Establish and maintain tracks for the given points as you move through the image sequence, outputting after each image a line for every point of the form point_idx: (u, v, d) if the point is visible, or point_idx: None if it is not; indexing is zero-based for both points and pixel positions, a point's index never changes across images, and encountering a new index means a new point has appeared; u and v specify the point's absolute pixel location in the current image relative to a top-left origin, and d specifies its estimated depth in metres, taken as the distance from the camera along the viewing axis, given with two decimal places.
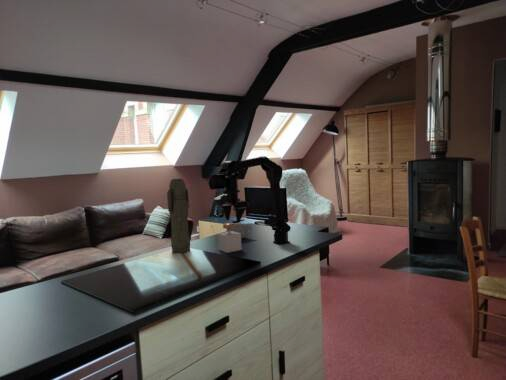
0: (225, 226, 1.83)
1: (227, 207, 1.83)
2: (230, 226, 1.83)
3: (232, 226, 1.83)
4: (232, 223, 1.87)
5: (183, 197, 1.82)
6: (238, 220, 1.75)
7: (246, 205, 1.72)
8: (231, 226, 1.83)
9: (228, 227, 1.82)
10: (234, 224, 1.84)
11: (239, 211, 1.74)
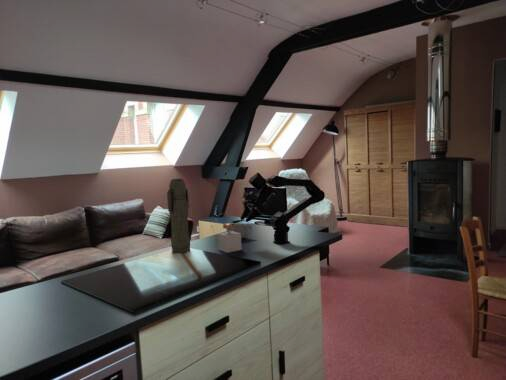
0: (225, 226, 1.83)
1: (248, 210, 1.93)
2: (230, 226, 1.83)
3: (232, 226, 1.83)
4: (232, 223, 1.87)
5: (183, 197, 1.82)
6: (247, 219, 1.84)
7: (264, 212, 1.82)
8: (231, 226, 1.83)
9: (228, 227, 1.82)
10: (234, 224, 1.84)
11: (254, 213, 1.85)
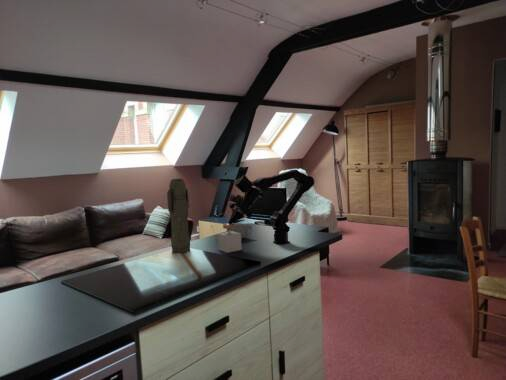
0: (225, 226, 1.83)
1: None
2: (230, 226, 1.83)
3: (232, 226, 1.83)
4: (232, 223, 1.87)
5: (183, 197, 1.82)
6: (230, 221, 1.85)
7: (249, 215, 1.79)
8: (231, 226, 1.83)
9: (228, 227, 1.82)
10: (234, 224, 1.85)
11: (237, 215, 1.85)
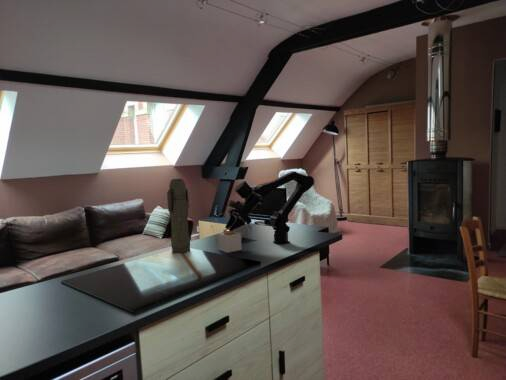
0: (225, 232, 1.83)
1: (234, 219, 1.90)
2: (230, 232, 1.83)
3: (232, 232, 1.83)
4: None
5: (183, 197, 1.82)
6: (231, 228, 1.82)
7: (248, 221, 1.79)
8: (231, 232, 1.83)
9: (228, 233, 1.83)
10: (234, 230, 1.85)
11: (238, 222, 1.83)
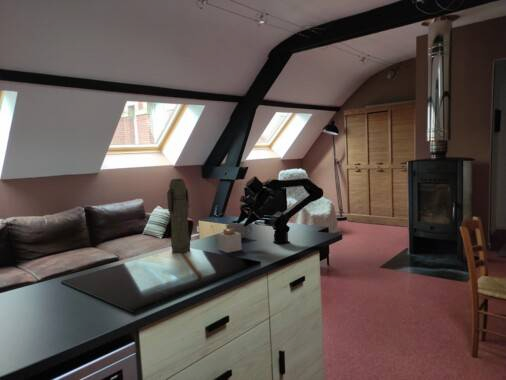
0: (225, 232, 1.83)
1: (245, 214, 1.93)
2: (230, 232, 1.83)
3: (232, 232, 1.83)
4: (232, 229, 1.87)
5: (183, 197, 1.82)
6: (245, 224, 1.83)
7: (261, 216, 1.81)
8: (231, 232, 1.83)
9: (228, 233, 1.83)
10: (234, 230, 1.85)
11: (252, 217, 1.83)
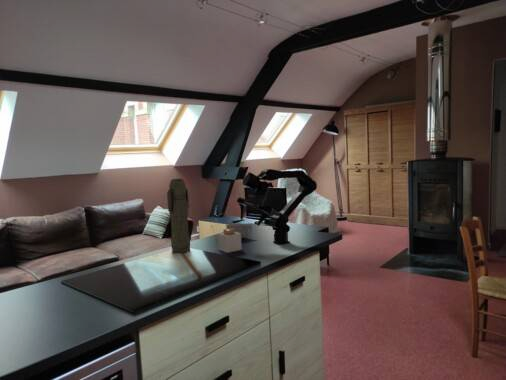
0: (225, 232, 1.83)
1: (245, 208, 1.90)
2: (230, 232, 1.83)
3: (232, 232, 1.83)
4: (232, 229, 1.87)
5: (183, 197, 1.82)
6: (259, 223, 1.85)
7: (273, 213, 1.86)
8: (231, 232, 1.83)
9: (228, 233, 1.83)
10: (234, 230, 1.85)
11: (263, 216, 1.86)
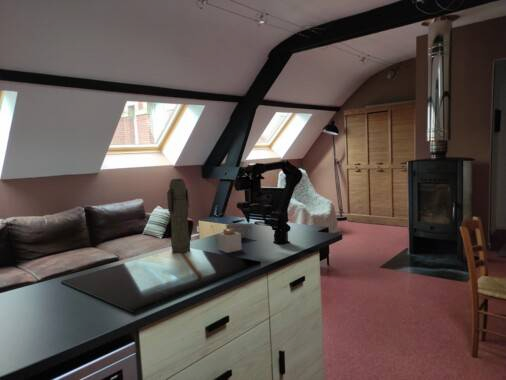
0: (225, 232, 1.83)
1: None
2: (230, 232, 1.83)
3: (232, 232, 1.83)
4: (232, 229, 1.87)
5: (183, 197, 1.82)
6: None
7: None
8: (231, 232, 1.83)
9: (228, 233, 1.83)
10: (234, 230, 1.85)
11: None
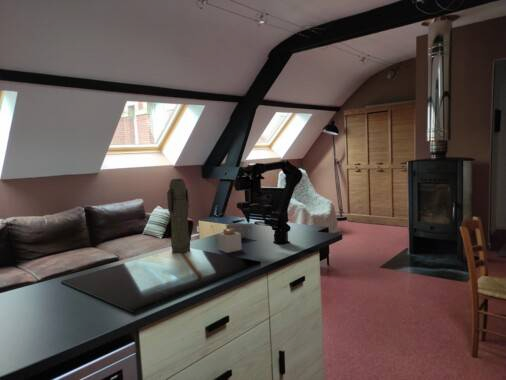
0: (225, 232, 1.83)
1: None
2: (230, 232, 1.83)
3: (232, 232, 1.83)
4: (232, 229, 1.87)
5: (183, 197, 1.82)
6: None
7: None
8: (231, 232, 1.83)
9: (228, 233, 1.83)
10: (234, 230, 1.85)
11: None
